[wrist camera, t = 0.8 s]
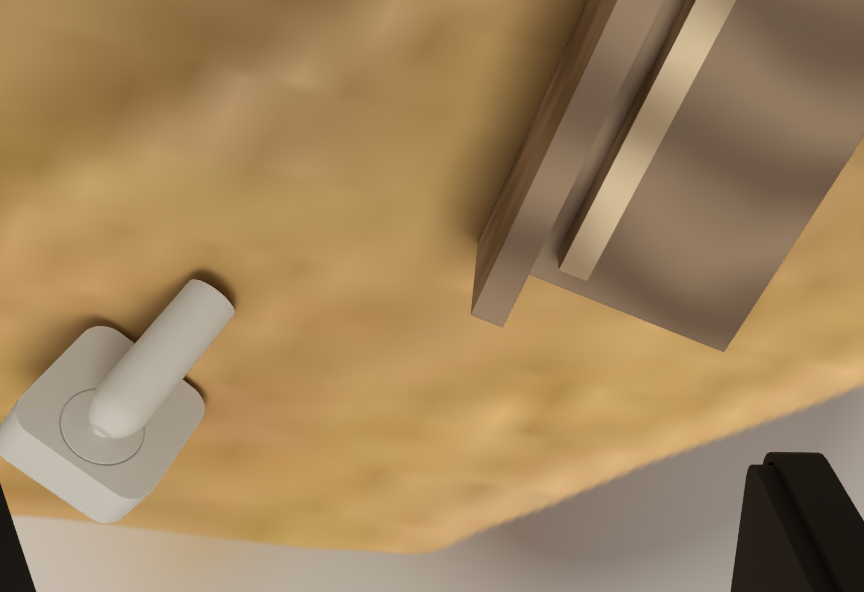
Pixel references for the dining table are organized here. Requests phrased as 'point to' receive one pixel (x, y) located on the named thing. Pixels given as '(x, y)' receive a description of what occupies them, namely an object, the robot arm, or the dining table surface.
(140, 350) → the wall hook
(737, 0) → the board
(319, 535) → the dining table surface
